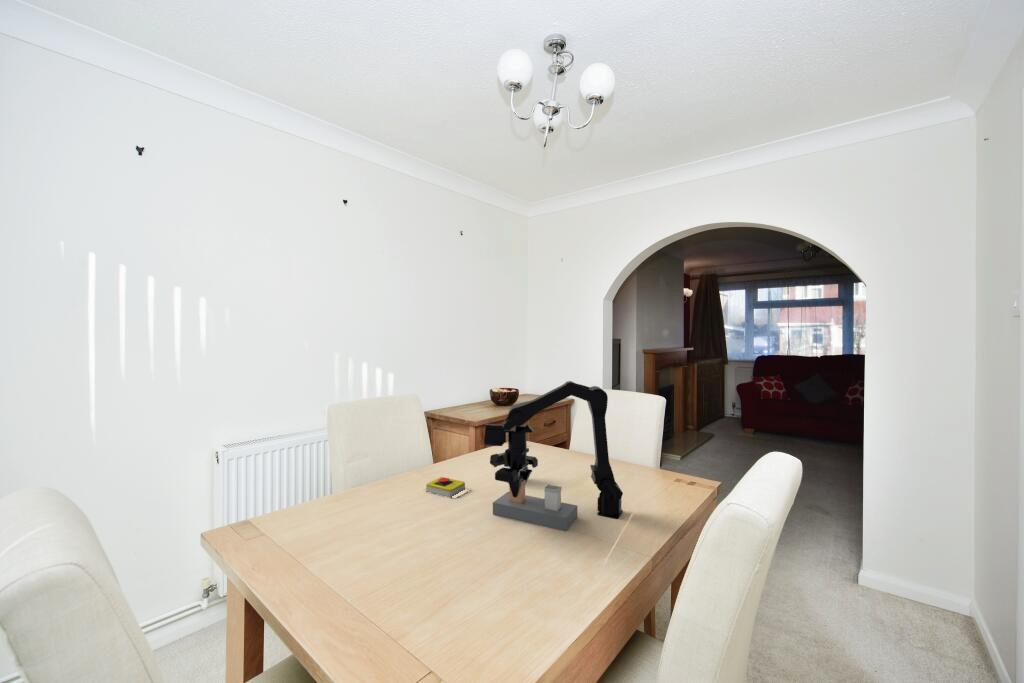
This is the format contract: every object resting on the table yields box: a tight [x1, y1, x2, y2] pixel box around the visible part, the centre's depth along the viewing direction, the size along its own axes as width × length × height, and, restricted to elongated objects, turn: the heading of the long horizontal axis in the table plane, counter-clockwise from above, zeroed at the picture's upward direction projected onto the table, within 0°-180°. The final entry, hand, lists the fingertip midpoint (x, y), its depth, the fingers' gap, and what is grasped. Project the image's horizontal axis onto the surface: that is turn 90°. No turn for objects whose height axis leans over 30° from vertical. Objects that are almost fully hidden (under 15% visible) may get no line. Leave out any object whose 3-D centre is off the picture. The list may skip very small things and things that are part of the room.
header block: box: [492, 491, 578, 532], centre depth 134 cm, size 24×10×4 cm, turn 63°
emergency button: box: [425, 476, 466, 498], centre depth 155 cm, size 9×4×15 cm
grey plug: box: [544, 484, 562, 511], centre depth 131 cm, size 4×3×10 cm
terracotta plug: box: [508, 479, 527, 504], centre depth 137 cm, size 4×3×10 cm
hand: (517, 495), depth 137 cm, fingers closed on terracotta plug, 3 cm apart
